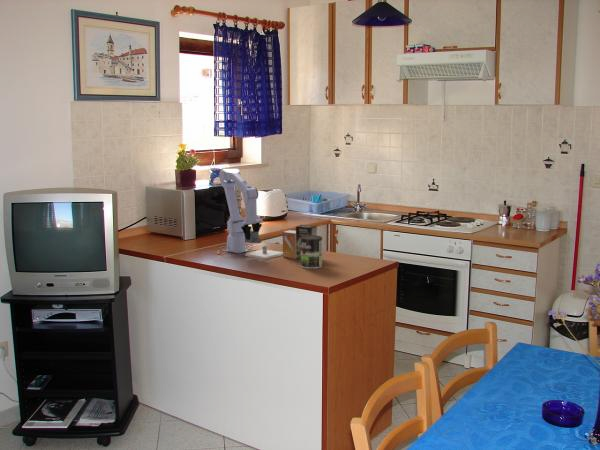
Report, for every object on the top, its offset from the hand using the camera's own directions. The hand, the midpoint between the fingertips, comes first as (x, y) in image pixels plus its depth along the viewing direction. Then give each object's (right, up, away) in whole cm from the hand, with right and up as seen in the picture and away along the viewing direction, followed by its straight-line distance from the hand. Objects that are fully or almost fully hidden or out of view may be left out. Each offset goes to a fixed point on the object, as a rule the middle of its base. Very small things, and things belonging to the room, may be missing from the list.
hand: (251, 238), depth 348 cm
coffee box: (+28, -10, -3) cm, 29 cm away
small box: (+21, -9, 0) cm, 23 cm away
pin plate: (+6, -9, +5) cm, 12 cm away
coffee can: (+30, -13, -21) cm, 39 cm away
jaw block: (+1, -2, -1) cm, 2 cm away
